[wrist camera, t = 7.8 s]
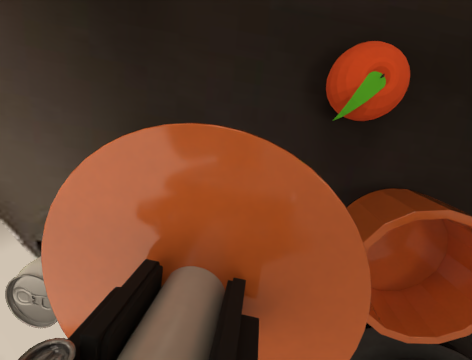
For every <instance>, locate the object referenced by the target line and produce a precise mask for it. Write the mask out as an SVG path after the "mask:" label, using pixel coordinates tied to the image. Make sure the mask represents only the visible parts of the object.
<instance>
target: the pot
mask: <svg viewBox="0 0 472 360" xmlns="http://www.w3.org/2000/svg"><path fill="white" fill-rule="evenodd" d="M347 210H348V212H349V214H350V215H351V217H352V219H353V221H354V222H355V224H356V226H357V228H358V231H359V233H360V236H361V239H362V241H363V244H364V246H365V250H366V254H367V258H368V263H369V267H370V278H371V300H370V310H369V315H368V319H367V323H368V324H369V325H370V326H372V327H373V328H374V329H375V330H376V331H378V332H379V333H380V334H382V335H385V336H388V337H390V338H393V339H396V340H399V341H402V342H405V343H413V344H441V343H444V342H448V341H451V340H455V339H458V338H462V337H465V336H468V335H470V334H471V333H472V215H470V214H467V213H465V212H463V211H461V210H459V209H456V208H454V207H452V206H450V205H448V204H445V203H443V202H441V201H439V200H436V199H434V198H432V197H430V196H427V195H424V194H420V193H418V192H415V191H411V190H408V189H384V190H379V191H375V192H372V193H369V194H367V195H365V196H363V197H360V198H359V199H357V200H356V201H354V202H353V203H352V204H350V205H349V206H348V207H347Z"/></svg>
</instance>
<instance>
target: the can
mask: <svg viewBox="0 0 472 360" xmlns="http://www.w3.org/2000/svg"><path fill="white" fill-rule="evenodd" d="M5 298H6V302H7V305H8V307H9V309H10V310H11V312H12V313H13V314H14V315H15V317H16V318H18V319H19V320H20V321H22V322H23V323H25V324H27V325H29V326H32V327H35V328H46V327H50V326H52V325H53V324H55V323H56V322H57V319H56V317H55V315H54V313H53V310H52V307H51V305H50V302H49V299H48V297H47V293H46V288H45V284H44V280H43V273H42V263H41V257H39V258H37V259H36V260H34V261H33V262H31V263H29V264H28V265H27V266H25V267H24V268H23V269H22V270H21V271H20V273H19V274H18V275H17V277H15V278H13V279H12V280H11V281H10V282H9V283H8V285H7V287H6V291H5Z"/></svg>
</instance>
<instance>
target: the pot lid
mask: <svg viewBox="0 0 472 360" xmlns="http://www.w3.org/2000/svg"><path fill="white" fill-rule="evenodd" d="M145 259H150V260H154V261H159V263H160V265H161V266H163V273H162V283H161V288H160V290H159V291H158V293H157V295H156V296H155V298H154V299H153V301H152V302H151V304H150V306H149V307H148V309H147V310H146V312H145V314H144V315H143V317H142V318H141V320H140V322H139V323H138V325H137V326H136V328H135V329H134V331H133V333H132V334H131V336H130V337H129V339H128V341H127V342H126V344H125V345H124V347H123V349H122V350H121V352H120V353H119V355H118V356H117V358H116V360H209V356H210V352H211V348H212V344H213V339H214V335H215V331H216V327H217V323H218V319H219V315H220V310H221V306H222V302H223V298H224V294H225V290H226V286H227V282H228V280H231V281H233V278H239V279H244V280H246V284H245V292H244V300H243V308H242V314H243V315H248V316H252V317H256V318H259V343H258V360H350V359H351V357H352V355H353V354H354V352H355V351H356V349H357V347H358V345H359V342H360V340H361V338H362V335H363V333H364V331H365V327H366V323H367V319H368V315H369V310H370V300H371V278H370V267H369V263H368V258H367V254H366V250H365V246H364V244H363V241H362V239H361V236H360V233H359V231H358V228H357V226H356V224H355V222H354V221H353V219H352V217H351V215H350V214H349V212H348V210H347V208H346V207H345V205H344V204H343V203H342V201H341V200H340V199H339V197H338V196H337V195H336V194H335V192H334V191H333V190H332V188H331V187H330V186H329V185H328V184H327V183H326V182H325V181H324V180H323V179H322V178H321V177H320V176H319V175H318V174H317V173H316V172H315V171H314V170H313V169H312V168H311V167H310V166H308V165H307V164H306V163H304V162H303V161H301V160H300V159H299V158H297V157H296V156H295V155H293V154H292V153H291V152H289V151H287V150H285V149H284V148H282V147H280V146H278V145H276V144H274V143H273V142H271V141H269V140H267V139H264V138H262V137H259V136H256V135H254V134H251V133H249V132H246V131H243V130H239V129H234V128H230V127H226V126H222V125H214V124H204V123H177V124H165V125H159V126H154V127H148V128H144V129H141V130H138V131H135V132H132V133H129V134H126V135H123V136H121V137H119V138H117V139H115V140H113V141H111V142H109V143H107V144H105V145H103V146H102V147H101V148H99V149H98V150H97V151H95V152H94V153H92V154H91V155H90V156H88V157H87V158H86V159H85V160H84V161H83V162H82V163H81V164H80V165H79V166H78V167H77V168H76V169H75V170H74V171H73V172H72V173H71V174H70V175H69V177H68V178H67V179H66V181H65V182H64V184H63V185H62V186H61V188H60V189H59V191H58V193H57V195H56V197H55V199H54V201H53V203H52V205H51V207H50V210H49V213H48V216H47V219H46V222H45V226H44V232H43V237H42V249H41V263H42V273H43V280H44V284H45V288H46V293H47V297H48V299H49V302H50V305H51V307H52V310H53V313H54V315H55V317H56V319H57V321H58V323H59V324H60V326H61V328H62V330H63V332H64V333H65V335H66V336H67V338H69V337H70V336H71V335H72V334H73V333H74V332H75V330H76V329H77V328H78V327H79V326H80V325H81V324H82V323H83V322H84V320H85V319H86V318H87V317H88V316H89V315H90V314H91V313H92V312H93V311H94V309H95V308H96V307H97V306H98V305H99V304H100V303H101V302H102V301H103V300H104V298H105V297H106V296H107V295H108V294H109V293H110V292H111V291H112V290H113V289H114V288H115V287H122V285H123V284H124V283H125V282H126V281H127V280H128V278H129V277H130V276H131V275H132V274H133V273H134V272H135V270H136V269H137V268H138V267H139V266H140V265H141V264H142V262H143V261H144V260H145Z"/></svg>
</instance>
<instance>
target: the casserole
mask: <svg viewBox="0 0 472 360" xmlns="http://www.w3.org/2000/svg"><path fill="white" fill-rule="evenodd" d="M350 360H470V359H468V358H467V357H465V356H464V355H462V354H460V353H459V352H456V351H454V350H451V349H449V348H446V347H443V346H441V345H438V344H413V343H405V342H402V341H399V340H396V339H393V338H390V337H388V336H385V335H382V334H380V333H379V332H378V331H376V330H375V329H374V328H373V327H371V328H368V329H365V331H364V333H363V335H362V338H361V340H360V342H359V345H358V347H357V349H356V351H355V352H354V354H353V355H352V357H351V359H350Z"/></svg>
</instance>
